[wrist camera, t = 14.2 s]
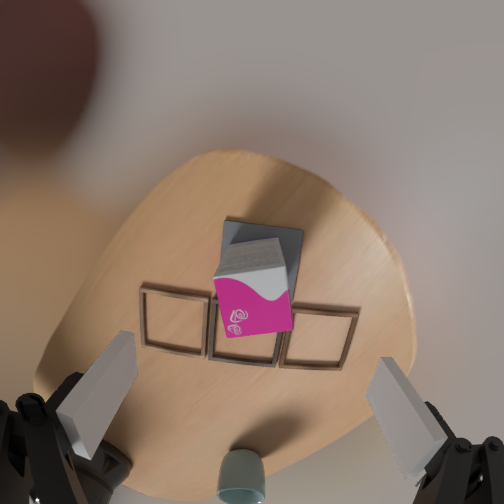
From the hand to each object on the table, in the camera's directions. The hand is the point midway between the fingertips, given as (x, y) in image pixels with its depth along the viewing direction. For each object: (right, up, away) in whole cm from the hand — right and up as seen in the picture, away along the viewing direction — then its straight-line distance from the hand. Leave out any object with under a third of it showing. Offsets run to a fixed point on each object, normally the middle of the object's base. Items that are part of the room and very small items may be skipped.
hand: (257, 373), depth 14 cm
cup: (-2, -31, +28) cm, 42 cm away
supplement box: (0, +5, +20) cm, 20 cm away
